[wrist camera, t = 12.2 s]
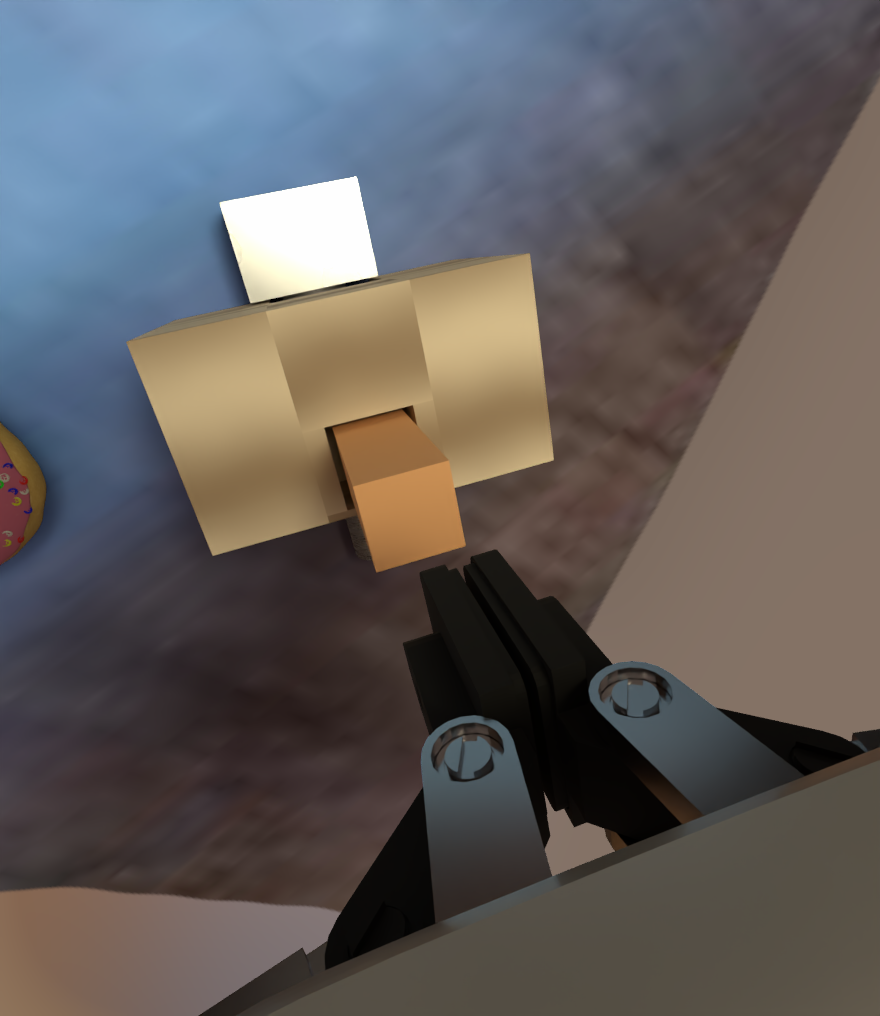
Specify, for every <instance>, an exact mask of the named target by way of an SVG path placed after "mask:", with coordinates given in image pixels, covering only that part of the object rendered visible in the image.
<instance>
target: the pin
mask: <svg viewBox="0 0 880 1016" xmlns="http://www.w3.org/2000/svg"><path fill="white" fill-rule="evenodd" d="M220 206H221V209H222V213H223V216H224V219H225V222H226V226H227V229H228V232H229V235H230V239H231V242H232V245H233V248H234V252H235V255H236V258H237V261H238V264H239V268H240V271H241V274H242V277H243V281H244V284H245V287H246V290H247V294H248V297H249V300H250V303H255V302H259V301H264V300H269V299H273V298H278V297H282V298H283V301H284V300H288V299H293V298H297V297H302V296H307V295H311V294H316V293H320V292H325V291H329V290H334V289H339V288H343V287H346V285H345V283H347V282H352V281H356V280H361V279H366V278H370V277H375V276H378V273H377V269H376V264H375V259H374V255H373V250H372V246H371V241H370V237H369V232H368V227H367V223H366V218H365V214H364V209H363V205H362V200H361V195H360V191H359V186H358V182H357V177H353V178H348V179H343V180H337V181H332V182H327V183H321V184H316V185H311V186H305V187H300V188H295V189H289V190H284V191H279V192H274V193H268V194H263V195H258V196H252V197H247V198H242V199H236V200H231V201H226V202H220ZM346 521H347V525H348V528H349V532H350V535H351V539H352V542H353V546H354V549H355V553H356V555H357V557H359V558H360V559H363V560H372V558H371V555H370V551H369V548H368V545H367V542H366V539H365V536H364V533H363V530H362V527H361V524H360V521H359V518H358V515H356V516H353V517H349V518H346Z"/></svg>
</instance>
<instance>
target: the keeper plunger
mask: <svg viewBox="0 0 880 1016" xmlns="http://www.w3.org/2000/svg"><path fill="white" fill-rule="evenodd" d="M332 429H333V433H334V436H335V440H336V444H337V447H338V451H339V454H340V458H341V462H342V465H343V469H344V472H345V476H346V480H347V483H348V487H349V490H350V494H351V497H352V500H353V503H354V506H355V509H356V512H357V515H358V518H359V521H360V524H361V527H362V530H363V533H364V536H365V539H366V542H367V545H368V548H369V551H370V555H371V558H372V561H373V564H374V567H375V570H376V573H377V572H380V571H383V570H387V569H390V568H393V567H397V566H400V565H403V564H407V563H410V562H414V561H417V560H420V559H424V558H427V557H430V556H434V555H437V554H440V553H444V552H447V551H450V550H454V549H457V548H461V547H464V546H466V545H465V540H464V535H463V529H462V524H461V519H460V514H459V509H458V504H457V499H456V494H455V489H454V484H453V478H452V473H451V468H450V463H449V460H448V459H447V458H446V457H445V456H444V454H443V453H442V452H441V451H440V450H439V449H438V448H437V447H436V446H435V445H434V444H433V442H432V441H431V440H430V439H429V438H428V437H427V436H426V435H425V434H424V433H423V432H422V431H421V429H420V428H419V427H418V426H417V425H416V424H415V423H414V422H413V421H412V420H411V419H410V417H409V416H408V415H407V414H406V413H405V412H404V411H403V410H402V409H401V410H397V411H393V412H389V413H385V414H381V415H377V416H373V417H369V418H365V419H362V420H358V421H354V422H350V423H346V424H342V425H338V426H334V427H332Z"/></svg>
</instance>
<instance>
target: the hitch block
mask: <svg viewBox="0 0 880 1016" xmlns="http://www.w3.org/2000/svg"><path fill="white" fill-rule="evenodd" d="M369 280H370V282H366V283H362V284H357V285H352V286H348V287H343V288H339V289H334V290H329V291H325V292H320V293H316V294H311V295H307V296H302V297H297V298H293V299H288V300H284V301H279V302H274V303H270V300H266V301H261V302H256V303H252V304H247V305H243V306H238V307H233V308H229V309H224V310H220V311H215V312H210V313H206V314H201V315H196V316H192V317H187V318H183V319H178V320H174V321H172V322H170V323H168V324H165V325H163V326H161V327H159V328H156V329H154V330H152V331H150V332H148V333H145V334H143V335H141V336H139V337H136V338H134V339H132V340H130V341H127V342H126V343H127V345H128V347H129V350H130V352H131V355H132V357H133V360H134V362H135V365H136V367H137V370H138V372H139V375H140V377H141V380H142V382H143V385H144V387H145V390H146V392H147V395H148V397H149V399H150V402H151V404H152V407H153V409H154V412H155V414H156V417H157V419H158V422H159V424H160V427H161V429H162V432H163V434H164V437H165V439H166V442H167V444H168V447H169V449H170V451H171V454H172V456H173V459H174V461H175V464H176V466H177V469H178V471H179V474H180V476H181V479H182V481H183V484H184V486H185V489H186V491H187V494H188V496H189V499H190V501H191V503H192V506H193V508H194V511H195V513H196V516H197V518H198V521H199V523H200V526H201V528H202V531H203V533H204V536H205V538H206V541H207V543H208V546H209V548H210V551H211V553H212V555H213V556H214V555H217V554H221V553H225V552H228V551H232V550H235V549H239V548H242V547H246V546H249V545H253V544H257V543H260V542H264V541H267V540H271V539H274V538H278V537H282V536H285V535H289V534H292V533H296V532H299V531H303V530H306V529H310V528H314V527H317V526H321V525H324V524H328V523H331V522H335V521H339V520H342V519H346V518H349V517H353V516H356V515H357V512H356V509H355V506H354V503H353V500H352V497H351V494H350V490H349V487H348V483H347V480H346V476H345V472H344V469H343V465H342V462H341V458H340V454H339V451H338V447H337V444H336V440H335V436H334V433H333V429H332V427H334V426H338V425H342V424H346V423H350V422H354V421H358V420H362V419H365V418H369V417H373V416H377V415H381V414H385V413H389V412H393V411H397V410H401V409H402V410H403V411H404V412H405V413H406V414H407V415H408V416H409V417H410V419H411V420H412V421H413V422H414V423H415V424H416V425H417V426H418V427H419V428H420V429H421V431H422V432H423V433H424V434H425V435H426V436H427V437H428V438H429V439H430V440H431V441H432V442H433V444H434V445H435V446H436V447H437V448H438V449H439V450H440V451H441V452H442V453H443V454H444V456H445V457H446V458H447V459H448V460H449V463H450V468H451V473H452V478H453V484H454V488H456V487H460V486H463V485H467V484H470V483H474V482H477V481H481V480H485V479H488V478H492V477H495V476H499V475H502V474H506V473H510V472H513V471H517V470H520V469H524V468H527V467H531V466H534V465H538V464H542V463H545V462H549V461H552V460H554V457H553V449H552V440H551V431H550V423H549V414H548V406H547V397H546V389H545V380H544V372H543V363H542V355H541V346H540V337H539V329H538V320H537V312H536V303H535V295H534V286H533V278H532V269H531V261H530V253H528V254H516V255H504V256H492V257H480V258H468V259H456V260H450V261H446V262H441V263H436V264H432V265H427V266H422V267H418V268H413V269H409V270H404V271H399V272H395V273H390V274H386V275H381V276H376V277H372V278H369Z"/></svg>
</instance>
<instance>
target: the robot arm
mask: <svg viewBox="0 0 880 1016" xmlns="http://www.w3.org/2000/svg"><path fill="white" fill-rule="evenodd" d="M463 570H464V576H465V581H466V583H465V581H464V579H463V578H462V576H461V575H460V573H459V571H458V570H457V568H455V569H452V570H448V569H447V567H446V566H445V565H442V566H438V567H435V568H432V569H428V570H425V571H422V572H420V579H421V583H422V587H423V592H424V596H425V600H426V604H427V608H428V612H429V617H430V621H431V625H432V629H433V634H429V635H426V636H423V637H420V638H417V639H414V640H411V641H407V642H404V643H403V646H404V650H405V654H406V658H407V661H408V665H409V669H410V673H411V676H412V680H413V683H414V687H415V690H416V694H417V697H418V700H419V704H420V707H421V710H422V713H423V716H424V720H425V723H426V726H427V729H428V732H429V735H430V736H429V737H428V738H427V740H426V742H425V744H424V746H423V749H422V755H421V768H422V779H423V788H422V790H421V791H420V793H419V794H418V796H417V797H416V799H415V800H414V802H413V803H412V805H411V806H410V808H409V809H408V811H407V813H406V814H405V816H404V817H403V819H402V820H401V822H400V823H399V825H398V826H397V828H396V829H395V831H394V832H393V834H392V835H391V837H390V839H389V840H388V842H387V843H386V845H385V846H384V848H383V849H382V851H381V852H380V854H379V855H378V857H377V858H376V860H375V861H374V863H373V865H372V866H371V868H370V869H369V871H368V872H367V874H366V875H365V877H364V878H363V880H362V881H361V883H360V884H359V886H358V888H357V889H356V891H355V892H354V894H353V895H352V897H351V898H350V900H349V901H348V903H347V904H346V906H345V907H344V909H343V910H342V912H341V914H340V915H339V917H338V918H337V920H336V922H335V924H334V926H333V928H332V930H331V932H330V934H329V937H328V941H327V942H325V943H324V944H322V945H321V946H319V947H318V948H316V949H315V950H313V951H312V952H310V953H309V954H307V955H306V954H305V952H304V950H303V948H301V949H300V950H298V951H297V952H295V953H294V954H292V955H291V956H289V957H287V958H286V959H284V960H283V961H281V962H280V963H278V964H277V965H275V966H274V967H272V968H271V969H269V970H268V971H266V972H265V973H263V974H261V975H260V976H259V977H257V978H255V979H254V980H252V981H251V982H249V983H248V984H246V985H245V986H243V987H242V988H240V989H239V990H237V991H235V992H234V993H232V994H231V995H229V996H228V997H226V998H225V999H223V1000H222V1001H220V1002H219V1003H217V1004H216V1005H214V1006H213V1007H211V1008H209V1009H208V1010H206V1011H205V1012H203V1013H202V1014H200V1015H199V1016H880V729H877V730H869V731H862V732H855V733H853V735H852V741H848V740H846V739H844V738H842V737H840V736H837V735H834V734H830V733H827V732H824V731H820V730H815V729H811V728H807V727H802V726H797V725H793V724H788V723H783V722H779V721H775V720H770V719H765V718H760V717H756V716H751V715H747V714H743V713H738V712H733V711H729V710H724V709H720V708H715V707H714V706H712V705H711V704H710V703H709V702H707V701H706V700H705V699H703V698H702V697H701V696H699V695H698V694H697V693H695V692H694V691H693V690H692V689H690V688H689V687H688V686H686V685H685V684H684V683H682V682H681V681H680V680H678V679H677V678H676V677H675V676H673V675H672V674H671V673H669V672H667V671H666V670H664V669H662V668H660V667H658V666H655V665H652V664H648V663H643V662H633V661H631V662H621V663H616V664H612V663H611V662H610V661H609V659H608V658H607V657H606V656H605V655H604V654H603V652H602V651H601V650H600V649H599V648H598V647H597V645H595V643H594V642H593V641H592V640H591V639H590V637H589V636H588V635H587V634H586V633H585V632H584V630H583V629H582V628H581V627H580V626H579V625H578V623H577V622H576V621H575V620H574V619H573V618H572V616H571V615H570V614H569V613H568V612H567V611H566V609H565V608H564V607H563V606H562V605H561V604H560V603H559V601H558V600H557V599H556V598H554V597H553V596H549V597H546V598H543V599H539V600H537V599H536V598H535V597H534V596H533V594H532V593H531V592H530V591H529V589H528V588H527V587H526V586H525V584H524V583H523V582H522V581H521V579H520V578H519V577H518V575H517V574H516V573H515V572H514V570H513V569H512V568H511V567H510V565H509V564H508V563H507V562H506V560H505V559H504V558H503V557H502V555H501V554H500V553H499V552H498V551H497V550H492V551H488V552H485V553H482V554H478V555H475V556H472V557H471V564H469V565H465V566H464V567H463ZM544 793H545V794H546V796H547V798H548V800H549V802H550V804H551V806H552V808H553V809H554V811H559V810H561V809H565V811H566V813H567V815H568V817H569V818H570V820H571V822H572V824H573V826H574V827H576V826H579V825H581V824H584V823H586V822H587V823H590V824H593V825H596V826H599V827H602V828H604V829H605V833H606V837H607V839H608V841H609V843H610V844H611V846H612V848H613V849H614V850H615V852H612V853H610V854H607V855H605V856H602V857H600V858H597V859H595V860H593V861H590V862H587V863H585V864H582V865H580V866H577V867H575V868H572V869H570V870H567V871H565V872H562V873H560V874H558V875H555V876H552V874H551V871H550V867H549V864H548V860H547V856H546V853H545V847H546V844H547V842H548V840H549V837H550V831H549V826H548V821H547V808H546V802H545V796H544Z"/></svg>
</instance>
